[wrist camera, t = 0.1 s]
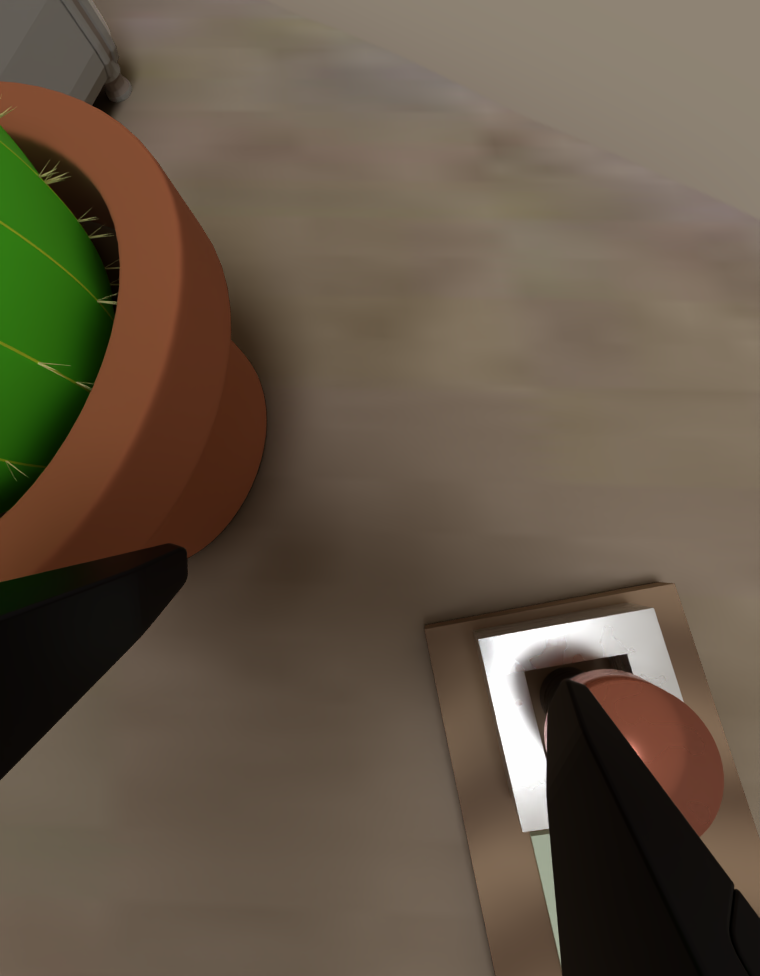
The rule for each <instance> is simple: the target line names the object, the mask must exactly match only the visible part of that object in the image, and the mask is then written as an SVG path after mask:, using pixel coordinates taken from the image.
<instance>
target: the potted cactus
mask: <svg viewBox="0 0 760 976" xmlns="http://www.w3.org/2000/svg"><path fill="white" fill-rule="evenodd" d="M266 424H267V417H266V404H265V398H264V393H263V390H262V386H261V383H260V381H259V378H258V376H257V373H256V372H255V370H254V368H253V367H252V365H251V363H250V362H249V360H248V359H247V358H246V356H245V355H244V354H243V353H242V351H241V350H240V349H239V348H238V347H237V346H236V344H235V343H234V342H233V341H232V340H231V311H230V303H229V295H228V288H227V284H226V280H225V277H224V273H223V269H222V266H221V263H220V261H219V259H218V256H217V254H216V251H215V249H214V247H213V245H212V243H211V241H210V240H209V238H208V237H207V235H206V233H205V232H204V230H203V228H202V227H201V225H200V224H199V222H198V221H197V219H196V218H195V216H194V215H193V213H192V212H191V210H190V209H189V208H188V206H187V205H186V203H185V202H184V200H183V199H182V197H181V196H180V194H179V193H178V191H177V190H176V188H175V187H174V185H173V184H172V183H171V181H170V180H169V178H168V177H167V175H166V174H165V172H164V171H163V169H162V168H161V166H160V165H159V163H158V162H157V161H156V159H155V158H154V157H153V156H152V154H151V153H150V152H149V151H148V150H147V149H146V147H145V146H144V145H143V144H142V143H141V141H140V140H139V139H138V138H137V137H135V136H134V135H133V134H132V133H131V132H130V131H129V130H128V129H126V128H125V127H124V126H123V125H122V124H121V123H119V122H118V121H116V120H115V119H113V118H112V117H110V116H109V115H107V114H106V113H105V112H103V111H101V110H99V109H98V108H96V107H94V106H92V105H90V104H88V103H86V102H84V101H82V100H79V99H77V98H74V97H71V96H69V95H66V94H64V93H61V92H57V91H54V90H50V89H46V88H43V87H39V86H33V85H27V84H22V83H15V82H3V81H0V582H3V581H7V580H11V579H16V578H20V577H24V576H29V575H33V574H37V573H42V572H46V571H50V570H55V569H59V568H63V567H68V566H72V565H76V564H80V563H85V562H89V561H93V560H98V559H102V558H106V557H111V556H115V555H119V554H124V553H128V552H132V551H137V550H141V549H145V548H150V547H154V546H158V545H162V544H167V543H173V544H176V545H179V546H182V547H184V548H185V549H186V551H187V558H189V557H191V556H192V555H194V554H195V553H197V552H199V551H200V550H202V549H203V548H204V547H205V546H207V545H208V544H209V543H210V542H212V541H213V540H214V539H215V538H216V537H217V536H218V535H219V534H220V533H221V532H222V531H223V530H224V528H225V527H226V526H227V525H228V524H229V523H230V521H231V520H232V519H233V517H234V516H235V514H236V513H237V512H238V510H239V509H240V507H241V505H242V504H243V502H244V500H245V499H246V497H247V495H248V493H249V491H250V489H251V487H252V484H253V482H254V479H255V477H256V474H257V472H258V468H259V465H260V462H261V458H262V454H263V450H264V444H265V437H266Z"/></svg>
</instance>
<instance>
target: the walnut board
mask: <svg viewBox="0 0 760 976" xmlns="http://www.w3.org/2000/svg"><path fill="white" fill-rule="evenodd" d="M622 603H632V604H637V605H642V606H647V607H652V608H654V610H655V613H656V617H657V620H658V623H659V626H660V629H661V632H662V635H663V638H664V642H665V645H666V648H667V651H668V654H669V657H670V660H671V664H672V667H673V670H674V673H675V676H676V679H677V682H678V686H679V689H680V692H681V695H682V698H683V701H684V703H685V704H687V705H688V706H689V707H690V708H691V709H692V710H693V711H694V712H695V713H696V714H697V715H698V716H699V718H700V719H701V720H702V721H703V722H704V724H705V725H706V727H707V728H708V730H709V731H710V733H711V735H712V737H713V739H714V741H715V743H716V745H717V748H718V750H719V753H720V757H721V761H722V765H723V772H724V790H723V798H722V801H721V805H720V808H719V811H718V813H717V815H716V817H715V819H714V821H713V822H712V824H711V825H710V827H709V828H708V829H707V830H706V831H705V832H704V834H703V835H701V836H700V838H701V840H702V841H703V843H704V844H705V845H706V847H707V848H708V849H709V851H710V852H711V853H712V855H713V856H714V857H715V859H716V860H717V861H718V863H719V864H720V865H721V867H722V868H723V869H724V871H725V872H726V873H727V875H728V876H729V877H730V879H731V880H732V881H733V883H734V886H735V887H734V889H738V890H739V891H740V892H741V893H742V895H743V896H744V897H745V899H746V900H747V901H748V903H749V904H750V905H751V907H752V908H753V909H754V911H755V912H756V913H757V915H758V916H759V917H760V839H759V836H758V833H757V830H756V827H755V824H754V821H753V818H752V815H751V812H750V809H749V806H748V803H747V800H746V797H745V794H744V791H743V788H742V785H741V782H740V779H739V776H738V773H737V770H736V767H735V764H734V761H733V758H732V755H731V752H730V749H729V746H728V743H727V740H726V737H725V734H724V731H723V728H722V725H721V722H720V719H719V716H718V713H717V710H716V707H715V704H714V701H713V698H712V695H711V692H710V689H709V686H708V683H707V680H706V676H705V673H704V670H703V667H702V664H701V661H700V658H699V655H698V652H697V649H696V646H695V643H694V640H693V637H692V634H691V631H690V628H689V625H688V622H687V619H686V616H685V613H684V610H683V607H682V604H681V601H680V598H679V595H678V592H677V589H676V586H675V584H674V583H662V582H657V583H651V584H646V585H640V586H635V587H629V588H624V589H619V590H613V591H608V592H602V593H597V594H591V595H586V596H581V597H575V598H570V599H564V600H559V601H553V602H548V603H543V604H537V605H532V606H526V607H521V608H515V609H510V610H505V611H499V612H494V613H488V614H483V615H477V616H472V617H467V618H461V619H456V620H450V621H445V622H439V623H434V624H429V625H425V628H424V630H425V635H426V640H427V645H428V649H429V654H430V659H431V664H432V669H433V674H434V679H435V684H436V688H437V693H438V698H439V703H440V708H441V713H442V718H443V723H444V727H445V732H446V737H447V742H448V747H449V752H450V757H451V762H452V767H453V771H454V776H455V781H456V786H457V791H458V796H459V801H460V806H461V810H462V815H463V820H464V825H465V830H466V835H467V840H468V845H469V849H470V854H471V859H472V864H473V869H474V874H475V879H476V884H477V889H478V893H479V898H480V903H481V908H482V913H483V918H484V923H485V928H486V932H487V937H488V942H489V947H490V952H491V957H492V962H493V967H494V972H495V976H562V970H561V965H560V961H559V957H558V952H557V948H556V944H555V940H554V935H553V931H552V927H551V922H550V918H549V914H548V910H547V905H546V901H545V897H544V892H543V888H542V884H541V879H540V875H539V871H538V867H537V862H536V858H535V854H534V849H533V845H532V841H531V836H530V832H535V831H543V830H549V829H543V830H535V831H528V832H522V829H521V826H520V823H519V820H518V817H517V815H516V812H515V809H514V806H513V803H512V800H511V796H510V792H509V787H508V783H507V778H506V774H505V770H504V765H503V761H502V757H501V752H500V748H499V743H498V739H497V735H496V730H495V726H494V721H493V717H492V713H491V708H490V704H489V700H488V695H487V691H486V686H485V682H484V678H483V673H482V669H481V664H480V660H479V656H478V651H477V647H476V643H475V638H474V634H473V631H474V630H479V629H485V628H490V627H496V626H501V625H507V624H512V623H518V622H523V621H529V620H534V619H540V618H545V617H551V616H556V615H562V614H567V613H573V612H578V611H584V610H589V609H595V608H600V607H606V606H611V605H617V604H622ZM561 667H574V668H578V669H580V670H582V671H584V672H588V671H592V670H598V669H611V666H610V663H609V660H608V657H604V658H598V659H593V660H587V661H581V662H575V663H569V664H563V665H558V666H552V667H546V668H540V669H534V670H528V671H524V673H525V677H526V681H527V685H528V689H529V693H530V697H531V701H532V705H533V709H534V713H535V717H536V721H537V726H538V730H539V734H540V738H541V742H542V746H543V750H544V754H547V752H546V747H545V740H544V726H545V719H546V715H545V713H544V711H543V709H542V706H541V703H540V688H541V684H542V682H543V680H544V679H545V677H546V676H547V675H548V674H549V673H550V672H552V671H553V670H555V669H557V668H561Z"/></svg>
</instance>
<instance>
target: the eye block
mask: <svg viewBox="0 0 760 976" xmlns="http://www.w3.org/2000/svg"><path fill="white" fill-rule="evenodd" d="M473 634H474V638H475V643H476V647H477V651H478V656H479V660H480V664H481V669H482V673H483V678H484V682H485V686H486V691H487V695H488V700H489V704H490V708H491V713H492V717H493V721H494V726H495V730H496V735H497V739H498V743H499V748H500V752H501V757H502V761H503V765H504V770H505V774H506V778H507V783H508V787H509V792H510V796H511V800H512V803H513V806H514V809H515V812H516V815H517V817H518V820H519V823H520V826H521V829H522V832H528V831H535V830H543V829H549V823H548V812H547V798H546V760H547V754H544V750H543V746H542V742H541V738H540V734H539V730H538V726H537V721H536V717H535V713H534V709H533V705H532V701H531V697H530V693H529V689H528V685H527V681H526V677H525V673H524V671H528V670H534V669H540V668H546V667H552V666H558V665H563V664H569V663H575V662H581V661H587V660H593V659H598V658H604V657H608V660H609V663H610V666H611V669H615V670H621V671H625V672H628V673H632V674H634V675H636V676H639V677H641V678H643V679H645V680H646V681H648V682H650V683H652V684H654V685H656V686H658V687H659V688H661V689H663V690H665V691H667V692H668V693H670V694H672V695H674V696H675V697H677V698H678V699H680V700H681V701H683V698H682V695H681V692H680V689H679V686H678V682H677V679H676V676H675V673H674V670H673V667H672V664H671V660H670V657H669V654H668V651H667V648H666V645H665V642H664V638H663V635H662V632H661V629H660V626H659V623H658V620H657V617H656V613H655V610H654V608H652V607H647V606H642V605H637V604H632V603H622V604H617V605H611V606H606V607H600V608H595V609H589V610H584V611H578V612H573V613H567V614H562V615H556V616H551V617H545V618H540V619H534V620H529V621H523V622H518V623H512V624H507V625H501V626H496V627H490V628H485V629H479V630H474V631H473ZM683 702H684V701H683Z"/></svg>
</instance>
